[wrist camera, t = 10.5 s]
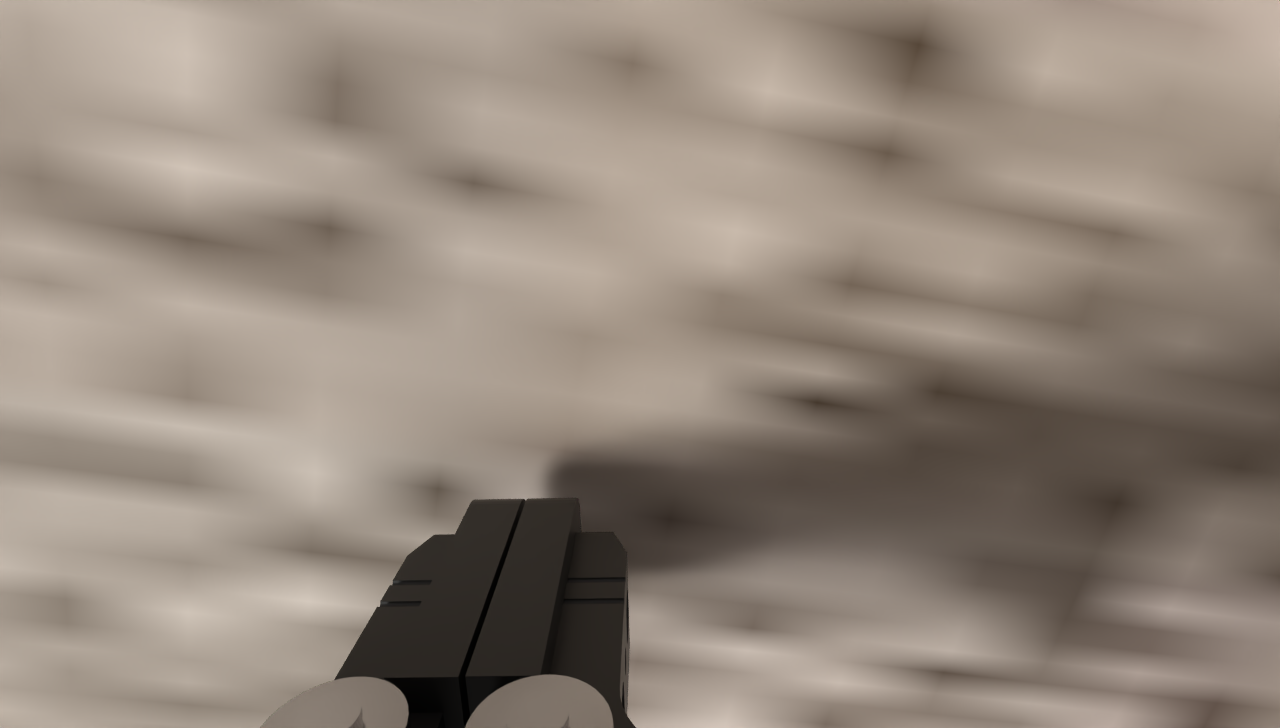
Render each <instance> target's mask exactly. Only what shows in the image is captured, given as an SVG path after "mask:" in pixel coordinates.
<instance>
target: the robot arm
mask: <svg viewBox="0 0 1280 728" xmlns="http://www.w3.org/2000/svg"><path fill="white" fill-rule="evenodd" d="M380 602H381V604H380V607H377V608H376V610H375V612H374V613H373V615H372V617H371V618H370V620H369V622H368V624H367V625H366V627H365V629H364V630H363V632H362V634H361V635H360V637H359V639H358V640H357V642H356V644H355V646H354V647H353V649H352V651H351V652H350V654H349V656H348V657H347V659H346V661H345V663H344V664H343V666H342V668H341V669H340V671H339V673H338V674H337V676H336V678H335V679H334V680H333V681H329V682H326V683H323V684H321V685H318V686H315V687H313V688H311V689H309V690H307V691H305V692H302V693H301V694H299V695H297V696H296V697H294V698H292V699H291V700H289V701H288V702H287V703H285V704H284V705H282V706H281V707H280V708H279V709H277V710H276V711H275V712H274V713H273V714H272V715H271V716H270V717H269V718H268V719H267V720H266V721H265V722H264V723H263V725H262V726H261V727H260V728H636V727H635V726H634V725H633V724H632V722H631V721H630V719H629V718H628V717H627V705H628V672H629V649H630V638H629V607H628V576H627V552H626V551H625V549H624V548H623V546H622V545H621V543H620V542H619V540H618V539H617V537H616V536H615V534H614V533H613V532H582V533H581V517H580V505H579V500H578V498H542V499H527V500H526V501H525V499H487V500H473V501H472V502H471V504H470V505H469V507H468V509H467V511H466V513H465V515H464V517H463V519H462V521H461V523H460V525H459V527H458V529H457V531H456V533H455V535H433V536H432V537H431V538H430V539H428V540H427V541H426V542H424V543H423V544H422V545H421V546H419V547H418V548H417V549H415V550H414V551H413V552H412V553H410V554H409V555H408V556H407V557H406V559H405V561H404V562H403V564H402V566H401V568H400V569H399V571H398V573H397V574H396V576H395V578H394V579H393V585H390V586H389V588H388V590H387V591H386V593H385V595H384V596H383V598H382V600H381V601H380Z"/></svg>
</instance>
